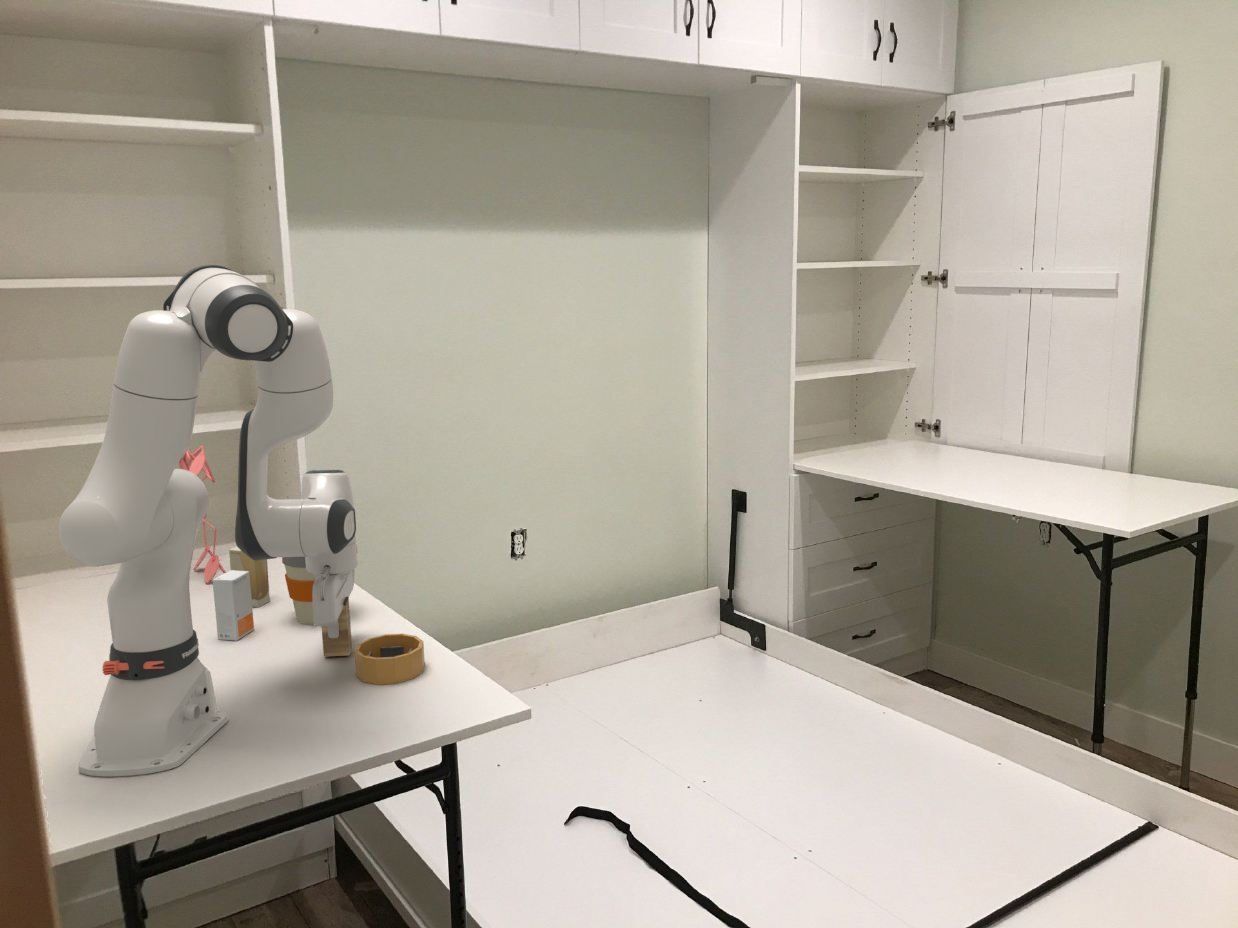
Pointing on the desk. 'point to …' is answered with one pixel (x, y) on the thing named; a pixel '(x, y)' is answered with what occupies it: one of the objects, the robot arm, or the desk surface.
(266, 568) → the skincare box
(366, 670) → the bowl
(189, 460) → the pink branch
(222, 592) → the skincare box
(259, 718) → the desk surface
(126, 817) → the desk surface
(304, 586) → the reusable coffee cup
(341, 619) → the tall wooden block
